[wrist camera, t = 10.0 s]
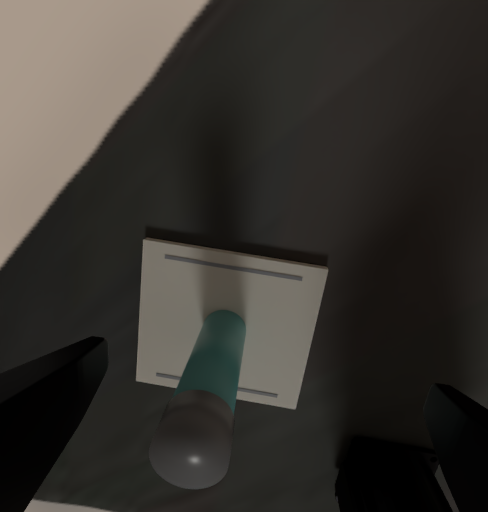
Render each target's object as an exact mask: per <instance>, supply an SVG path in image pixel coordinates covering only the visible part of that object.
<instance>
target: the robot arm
mask: <svg viewBox="0 0 488 512" xmlns="http://www.w3.org/2000/svg"><path fill="white" fill-rule="evenodd" d="M107 369H108V341H107V339H106V338H102V337H95V336H91V337H89V338H86V339H84V340H81V341H79V342H76V343H74V344H71V345H69V346H67V347H64V348H62V349H59V350H57V351H54V352H52V353H49V354H47V355H44V356H42V357H39V358H37V359H35V360H32V361H30V362H27V363H25V364H22V365H20V366H17V367H15V368H12V369H10V370H8V371H5V372H3V373H0V512H24V511H25V509H26V508H27V506H28V504H29V503H30V501H31V500H32V498H33V497H34V495H35V493H36V492H37V490H38V489H39V487H40V486H41V484H42V483H43V481H44V479H45V478H46V476H47V475H48V473H49V472H50V470H51V468H52V467H53V465H54V464H55V462H56V461H57V459H58V457H59V456H60V454H61V453H62V451H63V450H64V448H65V446H66V445H67V443H68V442H69V440H70V439H71V437H72V435H73V434H74V432H75V431H76V429H77V427H78V426H79V424H80V423H81V421H82V419H83V417H84V415H85V413H86V411H87V409H88V407H89V405H90V403H91V401H92V399H93V397H94V395H95V393H96V391H97V389H98V387H99V386H100V384H101V382H102V380H103V378H104V376H105V374H106V371H107ZM423 415H424V419H425V422H426V425H427V428H428V431H429V434H430V437H431V440H432V443H433V446H434V449H435V450H431V449H426V448H420V447H415V446H409V445H404V444H398V443H393V442H387V441H382V440H376V439H371V438H365V437H358V436H357V437H354V438H353V439H352V440H351V444H350V447H349V450H348V453H347V456H346V460H344V461H343V462H342V464H341V467H340V470H339V474H338V477H337V480H336V483H335V487H336V492H335V497H336V501H337V502H338V503H339V508H340V512H453V511H452V509H451V507H450V505H449V503H448V501H447V499H446V497H445V495H444V493H443V491H442V489H441V487H440V485H439V483H438V481H437V479H436V477H435V476H434V475H435V472H436V470H437V468H438V465H439V464H440V467H441V469H442V472H443V475H444V477H445V480H446V482H447V484H448V487H449V489H450V491H451V494H452V496H453V498H454V500H455V503H456V505H457V507H458V510H459V512H488V409H486V408H485V407H483V406H482V405H480V404H479V403H477V402H475V401H474V400H472V399H471V398H469V397H468V396H466V395H465V394H463V393H461V392H460V391H458V390H457V389H455V388H454V387H452V386H450V385H445V384H438V383H435V384H432V386H431V387H430V390H429V393H428V396H427V398H426V401H425V404H424V408H423ZM358 443H360V444H358Z"/></svg>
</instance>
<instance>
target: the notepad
mask: <svg viewBox="0 0 488 512" xmlns="http://www.w3.org/2000/svg"><path fill="white" fill-rule="evenodd" d="M327 274H328V268H327V267H326V266H319V265H313V264H307V263H301V262H295V261H289V260H282V259H276V258H270V257H264V256H258V255H252V254H246V253H239V252H233V251H227V250H221V249H215V248H209V247H202V246H196V245H190V244H184V243H178V242H172V241H165V240H159V239H153V238H145V239H144V240H143V255H142V275H141V295H140V314H139V334H138V353H137V373H136V381H140V382H145V383H151V384H156V385H162V386H168V387H173V388H177V386H178V383H179V381H180V379H181V376H182V374H183V371H184V369H185V367H186V364H187V362H188V359H189V357H190V355H191V352H192V350H193V347H194V345H195V343H196V340H197V338H198V335H199V333H200V331H201V328H202V326H203V323H204V321H205V319H206V318H207V316H208V315H210V314H211V313H213V312H215V311H218V310H228V311H232V312H234V313H236V314H237V315H239V316H240V317H241V318H242V320H243V321H244V323H245V326H246V336H245V343H244V350H243V356H242V363H241V370H240V376H239V383H238V390H237V396H236V399H240V400H246V401H251V402H257V403H262V404H268V405H273V406H279V407H284V408H290V409H296V405H297V401H298V397H299V392H300V388H301V384H302V380H303V376H304V371H305V367H306V363H307V359H308V354H309V350H310V346H311V342H312V337H313V333H314V329H315V325H316V321H317V316H318V312H319V308H320V304H321V299H322V295H323V291H324V287H325V283H326V278H327Z"/></svg>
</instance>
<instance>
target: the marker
mask: <svg viewBox="0 0 488 512" xmlns="http://www.w3.org/2000/svg"><path fill="white" fill-rule="evenodd" d="M245 336H246V326H245V323H244V321H243V320H242V318H241V317H240V316H239V315H237V314H236V313H234V312H232V311H228V310H218V311H215V312H213V313H211V314H210V315H208V316H207V318H206V319H205V321H204V323H203V326H202V328H201V331H200V333H199V335H198V338H197V340H196V343H195V345H194V347H193V350H192V352H191V355H190V357H189V359H188V362H187V364H186V367H185V369H184V371H183V374H182V376H181V379H180V381H179V383H178V386H177V388H176V391H175V393H174V395H173V398H172V399H171V400H170V401H169V403H168V404H167V406H166V409H165V411H164V413H163V416H162V418H161V420H160V423H159V425H158V427H157V430H156V432H155V435H154V437H153V439H152V442H151V444H150V447H149V459H150V462H151V464H152V466H153V468H154V470H155V471H156V472H157V473H158V475H160V476H161V477H162V478H163V479H164V480H166V481H167V482H169V483H171V484H173V485H175V486H178V487H182V488H186V489H203V488H207V487H210V486H213V485H215V484H216V483H218V482H219V481H220V480H221V479H222V478H223V477H224V476H225V474H226V472H227V470H228V467H229V460H230V453H231V446H232V439H233V432H234V424H235V420H234V410H235V403H236V396H237V390H238V383H239V376H240V370H241V363H242V356H243V350H244V343H245Z"/></svg>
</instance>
